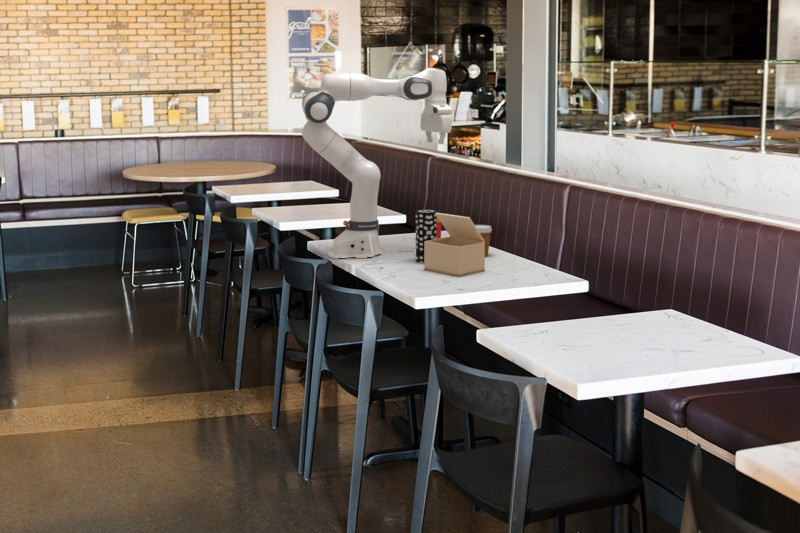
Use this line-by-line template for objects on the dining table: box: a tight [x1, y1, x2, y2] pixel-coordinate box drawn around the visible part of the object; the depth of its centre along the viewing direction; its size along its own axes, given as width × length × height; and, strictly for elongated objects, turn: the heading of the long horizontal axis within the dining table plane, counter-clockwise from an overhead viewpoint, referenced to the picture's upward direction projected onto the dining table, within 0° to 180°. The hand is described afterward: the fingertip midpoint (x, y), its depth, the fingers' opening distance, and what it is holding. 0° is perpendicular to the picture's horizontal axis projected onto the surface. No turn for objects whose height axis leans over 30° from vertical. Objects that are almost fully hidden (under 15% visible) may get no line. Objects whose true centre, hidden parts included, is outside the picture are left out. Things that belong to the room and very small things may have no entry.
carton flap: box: [436, 212, 484, 242], centre depth 366 cm, size 13×17×1 cm
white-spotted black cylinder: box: [415, 209, 438, 264], centre depth 383 cm, size 8×8×20 cm
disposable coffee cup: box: [474, 224, 493, 258], centre depth 394 cm, size 10×10×12 cm
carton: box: [423, 236, 486, 278], centre depth 366 cm, size 14×18×11 cm
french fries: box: [437, 217, 442, 239], centre depth 423 cm, size 9×4×13 cm, turn 27°
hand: (435, 143), depth 392 cm, fingers open, 8 cm apart
